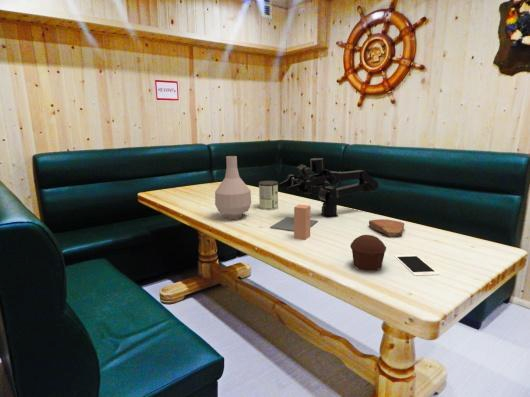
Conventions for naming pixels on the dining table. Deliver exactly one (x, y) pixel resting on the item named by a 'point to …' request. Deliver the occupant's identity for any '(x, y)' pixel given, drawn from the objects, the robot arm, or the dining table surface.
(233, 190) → the vase
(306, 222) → the terracotta block
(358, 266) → the muffin
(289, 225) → the charcoal mat
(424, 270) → the cell phone
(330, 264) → the dining table surface
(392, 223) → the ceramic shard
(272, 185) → the coffee can
